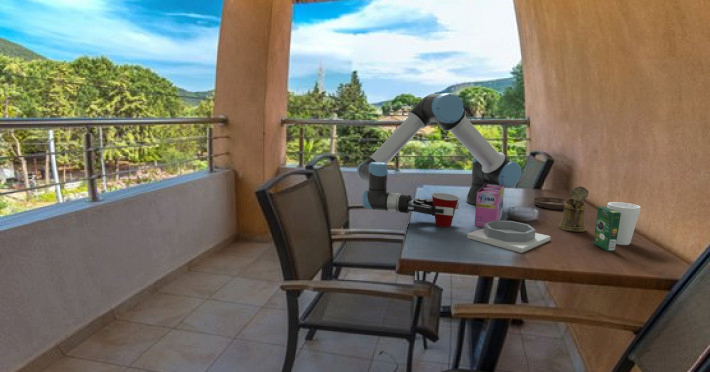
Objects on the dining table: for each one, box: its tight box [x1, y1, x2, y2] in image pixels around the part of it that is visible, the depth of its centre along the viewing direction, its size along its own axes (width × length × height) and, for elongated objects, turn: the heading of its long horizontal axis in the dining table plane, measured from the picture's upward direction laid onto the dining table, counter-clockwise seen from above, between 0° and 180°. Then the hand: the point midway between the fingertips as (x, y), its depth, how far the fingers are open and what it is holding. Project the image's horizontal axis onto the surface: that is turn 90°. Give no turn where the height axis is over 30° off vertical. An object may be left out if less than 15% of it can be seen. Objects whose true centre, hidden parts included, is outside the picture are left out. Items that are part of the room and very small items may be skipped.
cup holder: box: [466, 220, 551, 253], centre depth 143 cm, size 20×20×4 cm
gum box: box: [474, 183, 505, 228], centre depth 168 cm, size 24×8×14 cm, turn 154°
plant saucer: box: [532, 196, 567, 210], centre depth 195 cm, size 18×18×3 cm
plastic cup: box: [431, 192, 461, 228], centre depth 159 cm, size 11×11×12 cm
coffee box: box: [593, 206, 621, 253], centre depth 134 cm, size 8×3×13 cm, turn 2°
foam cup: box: [606, 201, 642, 246], centre depth 141 cm, size 10×9×13 cm
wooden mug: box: [558, 186, 590, 233], centre depth 153 cm, size 9×14×18 cm, turn 160°
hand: (455, 208), depth 157 cm, fingers open, 10 cm apart
